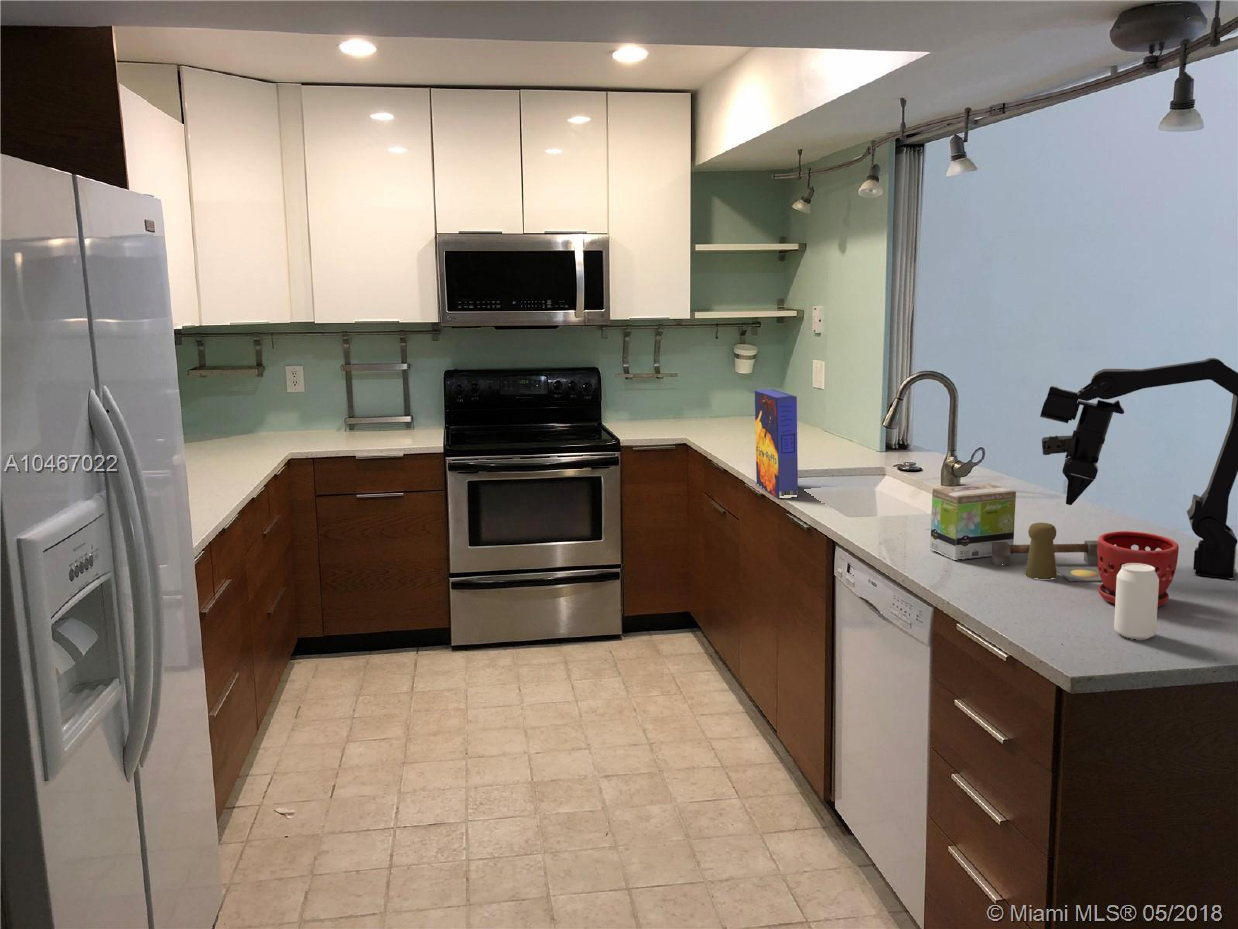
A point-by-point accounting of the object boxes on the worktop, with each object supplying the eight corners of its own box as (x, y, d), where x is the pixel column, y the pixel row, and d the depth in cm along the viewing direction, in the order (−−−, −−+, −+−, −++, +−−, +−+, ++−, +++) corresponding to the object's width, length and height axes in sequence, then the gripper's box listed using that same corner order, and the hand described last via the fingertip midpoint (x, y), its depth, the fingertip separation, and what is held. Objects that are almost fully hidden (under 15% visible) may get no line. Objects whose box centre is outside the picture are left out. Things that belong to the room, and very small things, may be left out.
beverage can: (1111, 638, 158) (1115, 569, 156) (1116, 626, 163) (1119, 560, 161) (1153, 644, 155) (1157, 574, 152) (1157, 632, 160) (1161, 564, 158)
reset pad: (1098, 568, 196) (1098, 566, 195) (1116, 581, 187) (1116, 579, 187) (1053, 569, 197) (1053, 567, 197) (1068, 582, 188) (1068, 580, 188)
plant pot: (1084, 603, 175) (1087, 541, 173) (1109, 586, 184) (1112, 527, 182) (1162, 618, 166) (1165, 553, 164) (1184, 599, 175) (1188, 537, 173)
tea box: (956, 562, 205) (957, 496, 202) (929, 551, 214) (930, 487, 211) (1015, 554, 208) (1017, 489, 206) (986, 543, 218) (987, 481, 215)
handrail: (1098, 560, 201) (1099, 540, 200) (1103, 564, 198) (1104, 544, 197) (991, 561, 204) (992, 542, 203) (995, 565, 201) (995, 545, 200)
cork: (1038, 581, 189) (1040, 528, 187) (1018, 573, 195) (1019, 522, 193) (1063, 578, 191) (1065, 525, 189) (1043, 570, 196) (1044, 518, 194)
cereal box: (756, 485, 295) (754, 389, 289) (774, 483, 296) (773, 388, 290) (778, 499, 273) (776, 396, 268) (798, 497, 274) (796, 395, 269)
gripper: (1052, 413, 205) (1032, 480, 210) (1048, 425, 189) (1025, 498, 193) (1107, 426, 201) (1085, 494, 205) (1108, 440, 185) (1083, 514, 189)
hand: (1069, 499), depth 198 cm, fingers open, 9 cm apart
